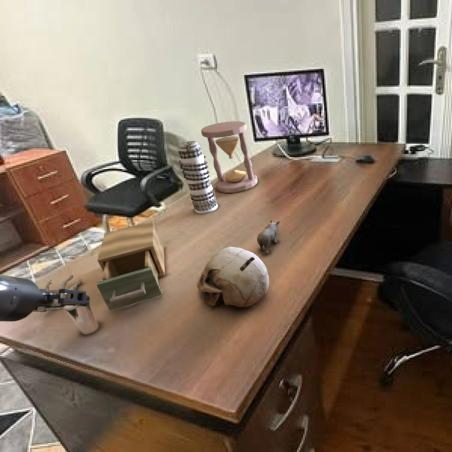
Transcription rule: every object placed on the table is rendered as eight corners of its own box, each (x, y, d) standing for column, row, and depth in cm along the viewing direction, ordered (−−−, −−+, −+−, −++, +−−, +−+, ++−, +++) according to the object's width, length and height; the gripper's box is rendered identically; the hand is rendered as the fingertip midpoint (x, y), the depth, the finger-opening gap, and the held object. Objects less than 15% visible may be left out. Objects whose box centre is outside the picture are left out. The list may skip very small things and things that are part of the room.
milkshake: (90, 319, 82) (70, 286, 77) (106, 323, 80) (88, 289, 75) (71, 333, 78) (50, 299, 74) (88, 338, 77) (68, 303, 72)
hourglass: (264, 177, 156) (253, 120, 144) (246, 193, 141) (232, 131, 129) (229, 177, 160) (215, 121, 148) (208, 192, 146) (191, 132, 133)
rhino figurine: (286, 231, 111) (283, 214, 108) (269, 255, 100) (265, 237, 97) (274, 230, 112) (271, 214, 109) (256, 254, 101) (252, 236, 98)
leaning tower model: (193, 206, 135) (174, 142, 123) (218, 201, 137) (201, 137, 125) (193, 215, 127) (172, 148, 115) (219, 210, 129) (201, 144, 117)
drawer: (162, 305, 83) (151, 279, 79) (107, 323, 79) (93, 296, 75) (161, 265, 98) (151, 241, 94) (115, 278, 94) (103, 254, 91)
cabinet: (164, 275, 95) (152, 245, 91) (112, 291, 91) (97, 260, 86) (163, 248, 108) (153, 221, 103) (117, 261, 104) (104, 232, 99)
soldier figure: (93, 285, 96) (69, 302, 84) (83, 299, 96) (57, 318, 84) (65, 270, 94) (37, 284, 82) (55, 284, 94) (25, 301, 82)
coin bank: (202, 281, 91) (193, 237, 84) (269, 275, 94) (266, 233, 87) (192, 325, 78) (181, 278, 71) (271, 317, 81) (267, 271, 74)
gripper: (42, 269, 59) (102, 281, 75) (-46, 280, 58) (33, 290, 74) (37, 315, 57) (100, 317, 73) (-54, 326, 56) (29, 326, 72)
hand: (66, 303), depth 73 cm, fingers open, 8 cm apart
